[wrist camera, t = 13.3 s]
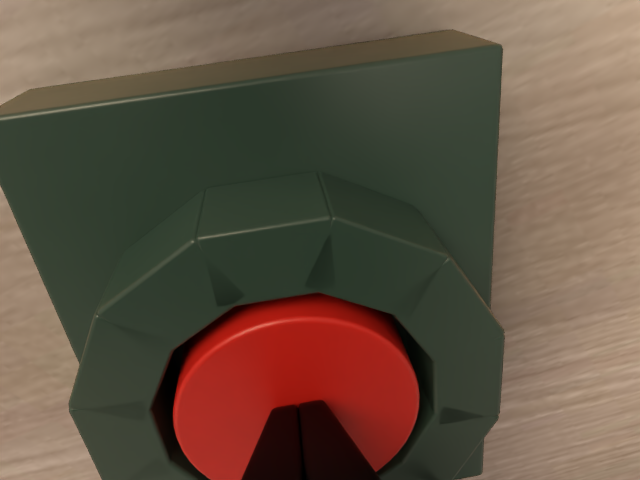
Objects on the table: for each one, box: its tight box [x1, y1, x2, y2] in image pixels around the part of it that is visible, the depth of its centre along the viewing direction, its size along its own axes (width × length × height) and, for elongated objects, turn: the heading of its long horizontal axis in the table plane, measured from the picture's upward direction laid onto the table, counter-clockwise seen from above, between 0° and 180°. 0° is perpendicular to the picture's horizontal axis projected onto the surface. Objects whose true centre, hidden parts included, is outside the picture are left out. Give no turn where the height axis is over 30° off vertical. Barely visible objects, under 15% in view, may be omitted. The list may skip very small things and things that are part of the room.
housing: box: [0, 30, 505, 480], centre depth 10 cm, size 10×8×4 cm
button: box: [173, 293, 420, 480], centre depth 9 cm, size 4×4×2 cm
